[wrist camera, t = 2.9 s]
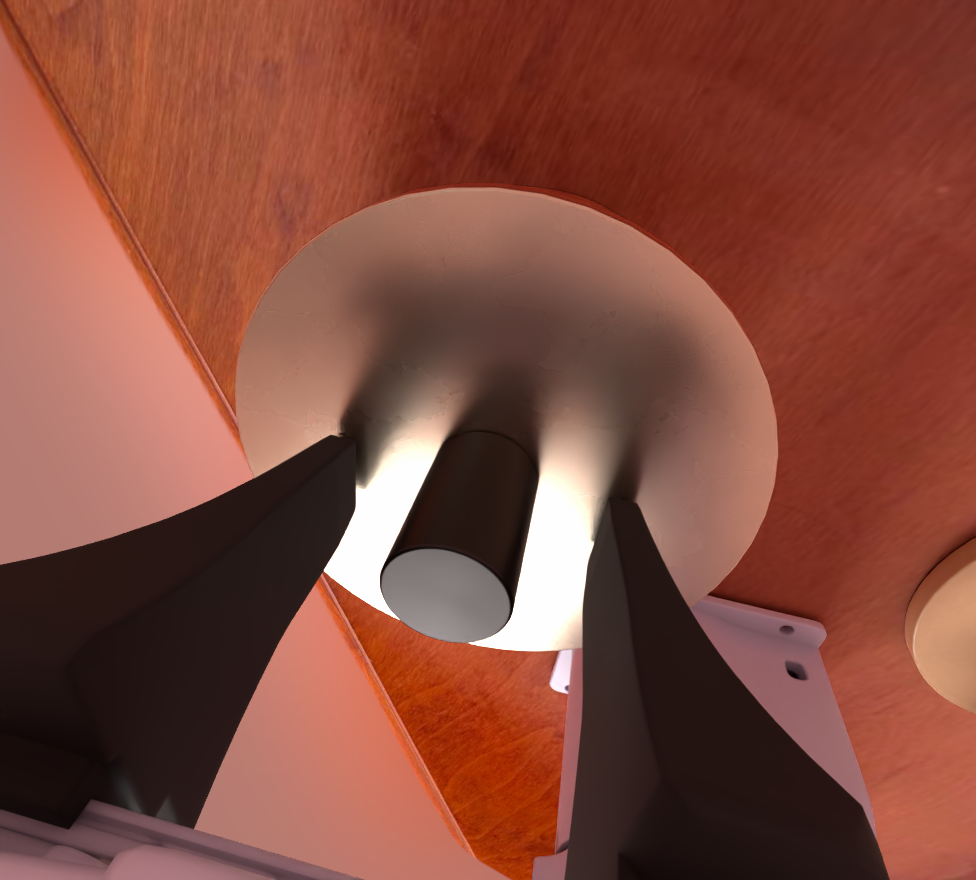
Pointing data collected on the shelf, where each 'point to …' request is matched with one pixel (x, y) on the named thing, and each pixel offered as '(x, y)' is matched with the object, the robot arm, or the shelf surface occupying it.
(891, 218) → the shelf surface
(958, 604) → the disc
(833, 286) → the shelf surface
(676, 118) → the shelf surface
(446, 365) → the lid
